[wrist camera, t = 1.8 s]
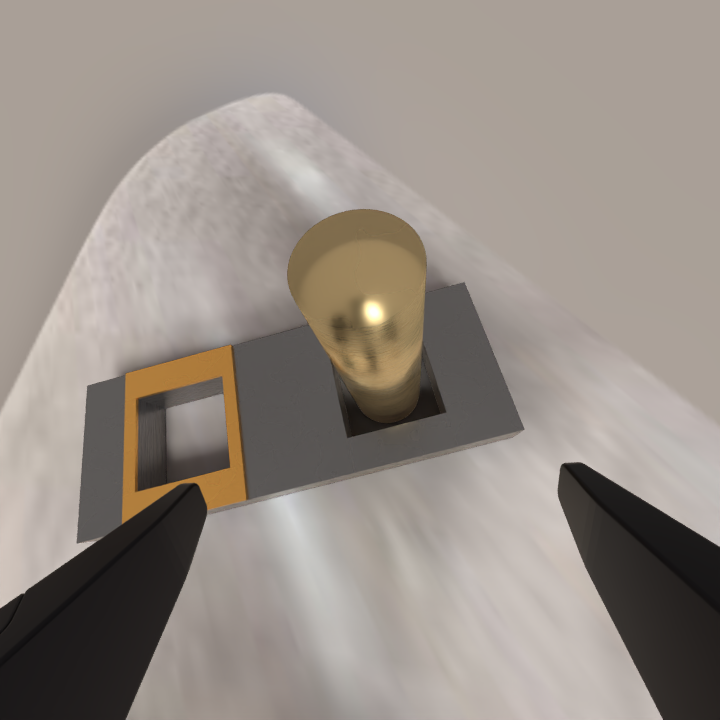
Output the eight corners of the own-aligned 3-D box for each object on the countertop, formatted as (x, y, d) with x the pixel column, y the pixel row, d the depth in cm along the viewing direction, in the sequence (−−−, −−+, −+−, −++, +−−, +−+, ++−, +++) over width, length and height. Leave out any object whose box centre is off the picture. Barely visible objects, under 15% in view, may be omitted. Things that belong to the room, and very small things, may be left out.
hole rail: (459, 303, 24) (465, 280, 21) (511, 437, 20) (525, 428, 18) (117, 396, 25) (84, 384, 22) (113, 538, 21) (73, 543, 19)
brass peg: (389, 437, 21) (357, 356, 9) (341, 393, 23) (260, 274, 11) (433, 387, 22) (456, 254, 10) (384, 348, 23) (353, 189, 11)
